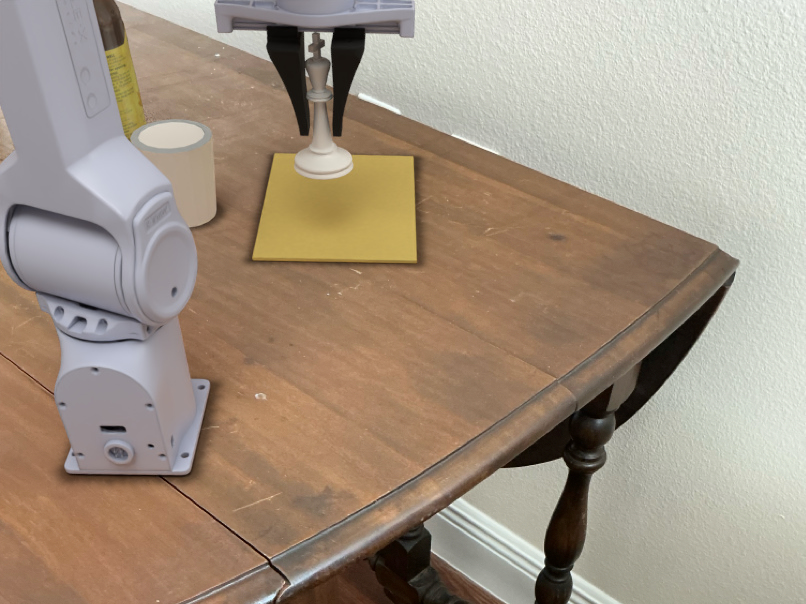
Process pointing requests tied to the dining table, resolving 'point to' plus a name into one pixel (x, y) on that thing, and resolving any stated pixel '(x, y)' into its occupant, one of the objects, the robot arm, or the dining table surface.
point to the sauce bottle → (120, 65)
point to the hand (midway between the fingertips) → (321, 131)
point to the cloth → (340, 213)
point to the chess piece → (321, 124)
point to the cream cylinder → (183, 164)
